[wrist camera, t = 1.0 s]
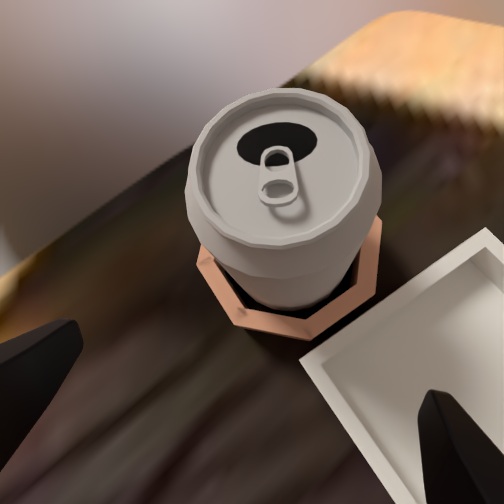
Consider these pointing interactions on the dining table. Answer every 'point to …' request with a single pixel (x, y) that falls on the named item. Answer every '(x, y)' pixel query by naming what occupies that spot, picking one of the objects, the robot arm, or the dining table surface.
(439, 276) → the tray
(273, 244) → the can
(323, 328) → the collar
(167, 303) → the dining table surface
